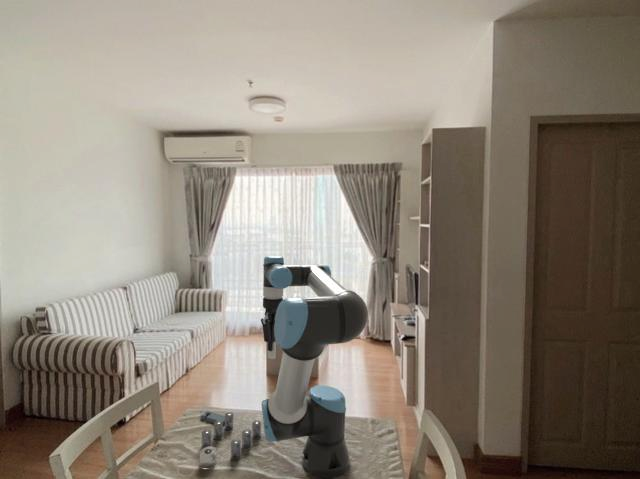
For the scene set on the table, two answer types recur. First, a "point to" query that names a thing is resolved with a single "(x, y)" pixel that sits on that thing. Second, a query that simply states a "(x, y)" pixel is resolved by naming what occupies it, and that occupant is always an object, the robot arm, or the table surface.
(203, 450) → the silver metal cylinder
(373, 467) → the table surface
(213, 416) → the bracket
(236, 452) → the spacer field
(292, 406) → the robot arm
